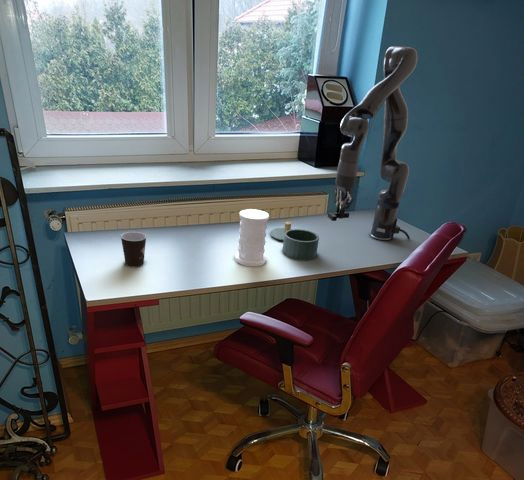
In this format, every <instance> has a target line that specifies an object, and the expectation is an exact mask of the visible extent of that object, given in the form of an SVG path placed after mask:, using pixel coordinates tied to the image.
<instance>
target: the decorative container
mask: <svg viewBox="0 0 524 480" xmlns="http://www.w3.org/2000/svg"><path fill="white" fill-rule="evenodd" d="M238 217H239V219H240V221H239V231H238V235H239V237H238V246H237V253H236V254H235V256H234V257H235V258H234V259H235V262H236V263H238V264H240V265H242V266H247V267H259V266H263V265H264V264H265V263H266V260H267V258H266V256H265V254H264V253H265V246H266V238H267V237H266V236H267V229H268V223H267V222H269V219H270V214H269V213H268V212H266V211H264V210H261V209H253V208H246V209H242V210H240V211H239V216H238Z"/></svg>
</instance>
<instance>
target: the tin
mask: <svg viewBox="0 0 524 480" xmlns="http://www.w3.org/2000/svg"><path fill="white" fill-rule="evenodd" d="M291 229H292V230H288V231H286V232H285V233H284V241H282V254H283V255H284V256H286V257H287V258H290V259H292V260H298V261H309V260H313V259H315V258H316V256H317V254H318V253H317V252H318V248H319V241H320V236H319V234H317V233H315V232H314V231H311V230H308V229H307V230H306V229H301V228H291Z"/></svg>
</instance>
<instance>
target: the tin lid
mask: <svg viewBox="0 0 524 480" xmlns="http://www.w3.org/2000/svg"><path fill="white" fill-rule="evenodd" d="M292 229H293V228H292V222H290V221H285V223H284V227H277V228H273V229H271V230H270V231H269V235H270V236H271V237H272V238H273V239H274V240H278V241H282V242H284V233H285V232H286V231H288V230H292Z"/></svg>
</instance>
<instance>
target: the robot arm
mask: <svg viewBox="0 0 524 480" xmlns="http://www.w3.org/2000/svg"><path fill="white" fill-rule="evenodd" d="M417 64H418V52H417V50H416V49H415V48H413V47H410V46H397V45H393V46H389V47H388V48H387V50H386V51H385V53H384V58H383V80H380V81H379V82H378V83H377V84H375V85H374V86H372V87H371V88H370V89H368V91H367V92H366V94H365V95H364V96H363V97H362V99H361V100H360V102H359V103H358V104H357V105H355V106H354V107H353V108H352V109H350V110H349V111H348V112H347V113H346V114H345V115H344V117H343V118H342V119H341V121H340V126H339V128H340V129H339V130H340V132H341V134H343V135H344V136H347V137H351V138H353V140H352V142H344V143H343V144H342V145H341V149H340V155H339V161H338V165H337V170H336V176H335V181H334V183H335V185H336V186H337V187H333V198H334V199H333V201H334V204H335V206H336V208H335V209H336V210H335V212H339V214H338V218H337V219H343V220H344V219H345V218H344V213H345V212H346V210H349V209H350V207H351V205H352V203H353V201H354V197H353V196H351V194H352V188H354V187H356V181H357V175H358V171H359V160H360V155H361V151H362V148H363V145H364V143H365V141H366V139H367V136H368V135H369V132H370V121H369V120H371V119H373V118H374V117H375V116H376V114H377V113H378V111H379V110H380V109H381V107H382V106H383V105H384V112H383V139H382V150H381V151H382V152H381V157H380V158H381V159H380V167H379V174H380V177H381V179H382V180H383V181H385V182H388V183H389V185H388V188H385V189H382V190H380V191H379V193H378V198H377V203H376V207H375V212H374V216H373V221H372V225H371V230H370V234H369V235H370V237H371V238H373V239H375V240H379V241H391V240H393V239H394V235H395V234H400V232H401V233H402V234H404V235H405V236H406V238H407V239H408V240H410V238H411V237H410V235H409V233H408V232H406V230H404V229H401V226H399V225H398V224H397V223H398V217H397V215H398V210H399V206H400V202H401V199H402V197H403V194H404V193H405V190H406V186H407V183H408V179H409V175H410V167H409V165H408V164H407V162H404V161H401V160H398V158H397V150H398V146H399V143H400V142H401V140H402V138H403V137H404V135H405V134H406V132H407V129H408V123H409V122H408V121H409V108H408V105H407V102H406V100H405V98H404V96H403V95H402V92H401V89H400V86H401V85H402V84H403V83H404V82H405V80H406V79H408V78H409V76H411V74H412V73H413V72H414V71H415V69H416V67H417Z"/></svg>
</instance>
